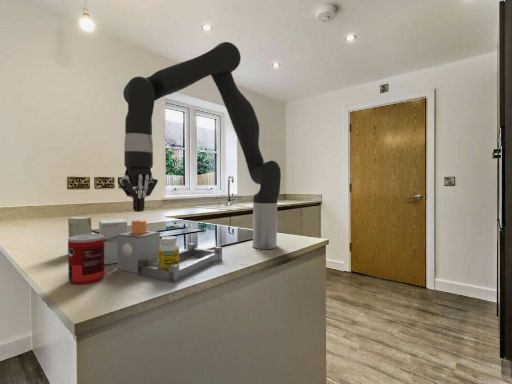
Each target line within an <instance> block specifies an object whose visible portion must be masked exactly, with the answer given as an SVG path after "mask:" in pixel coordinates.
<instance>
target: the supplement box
mask: <svg viewBox="0 0 512 384" xmlns="http://www.w3.org/2000/svg"><path fill="white" fill-rule="evenodd" d="M126 232H128V221H127V220H126V219H125V218H119V219H116V218H115V219H99V221H98V234H101V235H104V265H110V264H118V262H117V234H121V233H126Z"/></svg>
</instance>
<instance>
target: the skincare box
mask: <svg viewBox="0 0 512 384" xmlns="http://www.w3.org/2000/svg"><path fill="white" fill-rule="evenodd" d="M67 227H68V228H67V229H68V230H67V231H68V238H69V237H71V236H75V235H82V234H93V233H92V217H87V216H74V217H67Z"/></svg>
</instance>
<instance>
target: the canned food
mask: <svg viewBox="0 0 512 384" xmlns="http://www.w3.org/2000/svg"><path fill="white" fill-rule="evenodd" d="M67 239H68V240H67V254H68V256H67V260H68V261H67V263H68V281H69V283H70V284H71V285H72V284H73V285H77V286H78V285H79V286H80V285H89V284H93V283H97V282H100V281H101V280H103V279H104V277H105V264H104V235H101V234H99V233H92V234H82V235H75V236H71V237H69V236H68V238H67Z"/></svg>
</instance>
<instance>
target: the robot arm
mask: <svg viewBox="0 0 512 384" xmlns="http://www.w3.org/2000/svg"><path fill="white" fill-rule="evenodd" d="M241 60H242V59H241V52H240V50H239V48H238V47H237V46H236V45H235V44H233V43H232V42H229V41H223V42H220V43H218V44H216V45H215V46H214V47H212V49H210V50H209V51H207V52H205V53H202V54H201V55H198V56H196V57H194V58H190V59H188V60H185V61H181V62H179V63H175V64H173V65H170V66H168V67H165V68H161V69H159V70H157V71H155V72H154V73H153V74H151V75H149V76H147V77H145V76H135V77H132V78H131V79H130V80H129V81H128V83H127V84H126V85H125V87H124V88H123V92H122V94H123V99H124V100H125V102H126V103H127V114H126V116H125V122H124V123H125V124H124V125H125V127H124V129H125V130H124V131H125V134H124V143H123V144H124V147H123V148H124V152H123V154H124V155H123V158H124V161H123V162H124V163H123V164H124V167H125V172H124V176H123V177H122V178H117V180H116V181H117V183H118V185H119V186H120V188H121V189H122V191H123V192H124V193H125V195H126V197H130V198H131V199H132V208H133V211H134V212H136V213H140V212H144V210H145V199H146V197H150V196H151V195H152V193H153V191H154V189H155V187H156V186H157V184H158V179H157V178H154V177H153V174H152V169H153V167H154V143H153V123H152V119H153V113H154V107H155V102H156V101H157V100H159V99H161V98H163V97H165V96H169V95H172V94H174V93H176V92H178V91H181V90H184V89H185V88H187V87H189V86H192V85H194V84H195V83H198V82H199V81H201V80H204V78H207V77H209V76H211V78H212V81H214V83H215V85H216V88H217V90H218V92H219V94H220V96H221V99H222V103H223V104H224V107H225V109H226V111H227V115H228V117H229V119H230V123H231V124H232V128H233V130H234V133H235V134H236V137H237V139H238V142H239V144H240V147H241V150H242V153H243V156H244V159H245V162H246V166H247V167H246V168H247V169H248V173H249V176H250V178H251V181H253V182H254V183H255V184H257V185H260V186H259V187H260V188H259V190H258V192H257V193H255V194H254V195H253V197H252V198H253V207H252V210H253V211H252V216H253V217H252V247H253V248H254V249H260V250H272V249H277V235H278V233H277V232H278V230H277V229H278V227H277V226H278V198H279V196H280V190H281V178H282V177H281V176H282V175H281V173H282V172H281V167H280V165H279V163H278V162H276V161H275V160H269V159H267V160H265V159H264V157H263V155H262V153H261V150H260V149H261V148H260V145H259V140H260V139H259V138H260V124H259V119H258V117H257V115H256V112H255V109H254V107H253V105H252V104H251V102H250V101H249V100H248V99H247V98H246V96H244V94H243V93H242V92H241V91H240V89H239V87H238V86H237V84H236V82H235V79H234V77H233V73H232V72H234V71H235V70H237V68H238V67H239V66H240V64H241V63H240V62H241Z"/></svg>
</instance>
